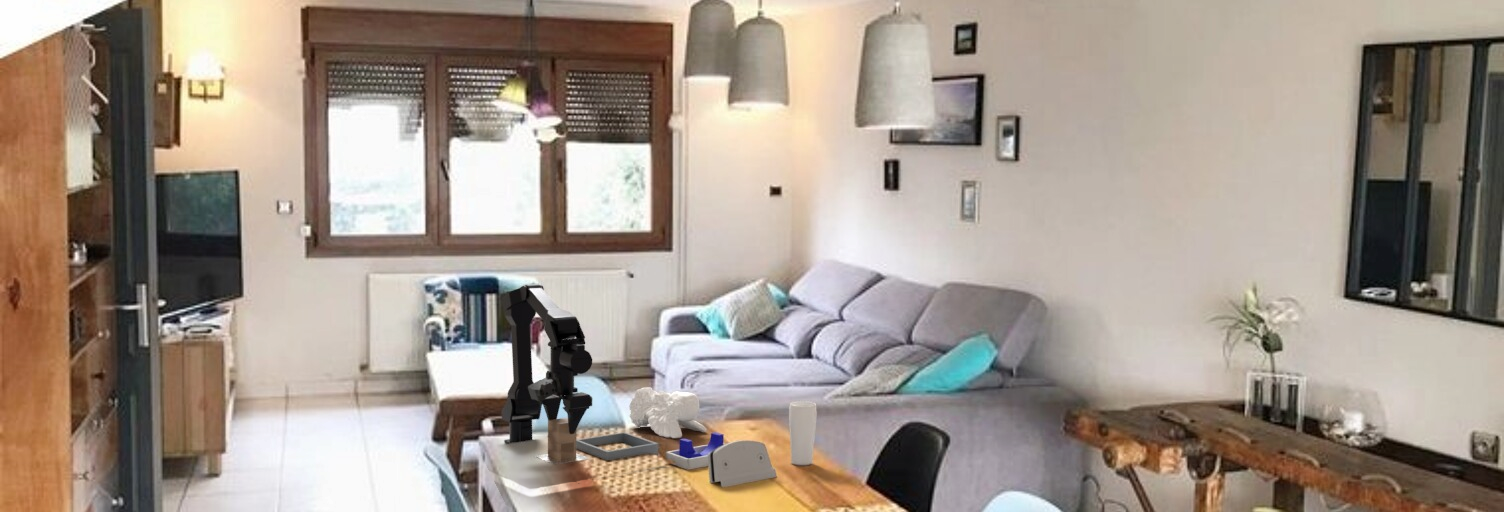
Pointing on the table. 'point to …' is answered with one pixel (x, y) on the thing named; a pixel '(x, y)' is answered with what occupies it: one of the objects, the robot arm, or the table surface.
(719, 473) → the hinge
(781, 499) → the table surface
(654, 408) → the cherub figurine
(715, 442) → the cable clip
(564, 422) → the wooden block
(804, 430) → the drinking glass
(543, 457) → the stud plate
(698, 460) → the clip organiser
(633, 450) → the tray
